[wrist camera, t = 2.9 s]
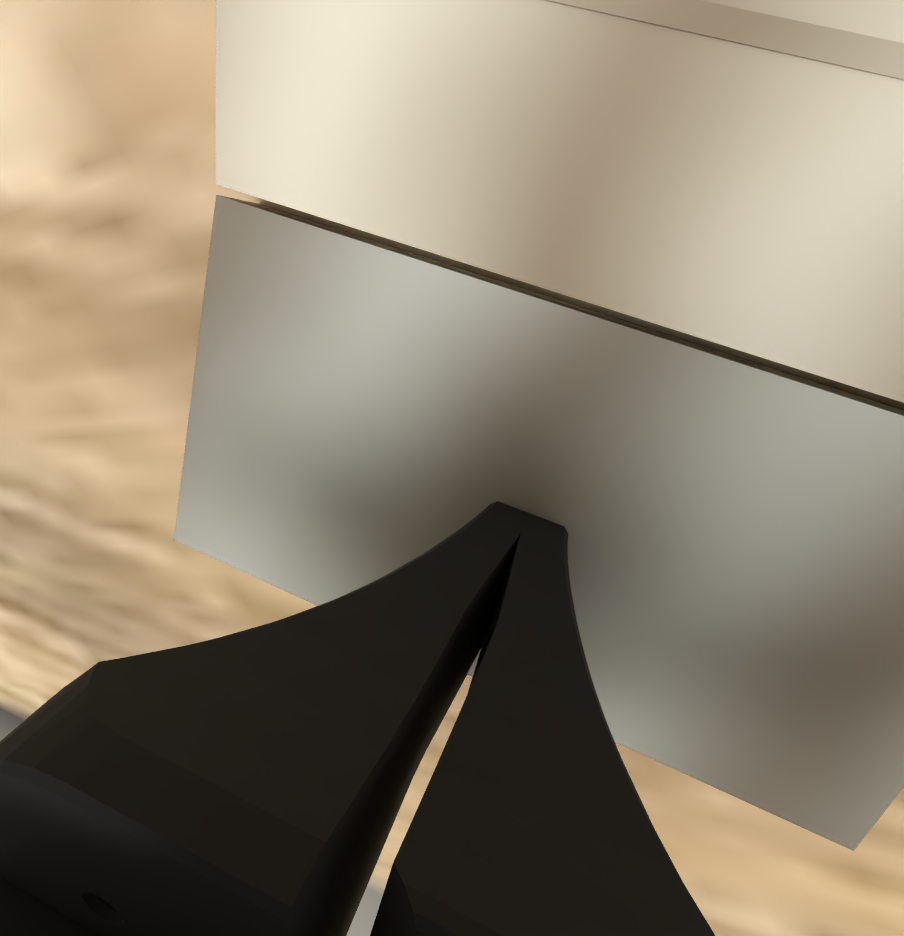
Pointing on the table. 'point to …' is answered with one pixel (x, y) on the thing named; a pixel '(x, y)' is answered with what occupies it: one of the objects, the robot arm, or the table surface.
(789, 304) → the ash board
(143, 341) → the table surface
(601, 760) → the robot arm
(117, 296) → the table surface
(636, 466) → the grey oak plank
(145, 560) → the table surface
